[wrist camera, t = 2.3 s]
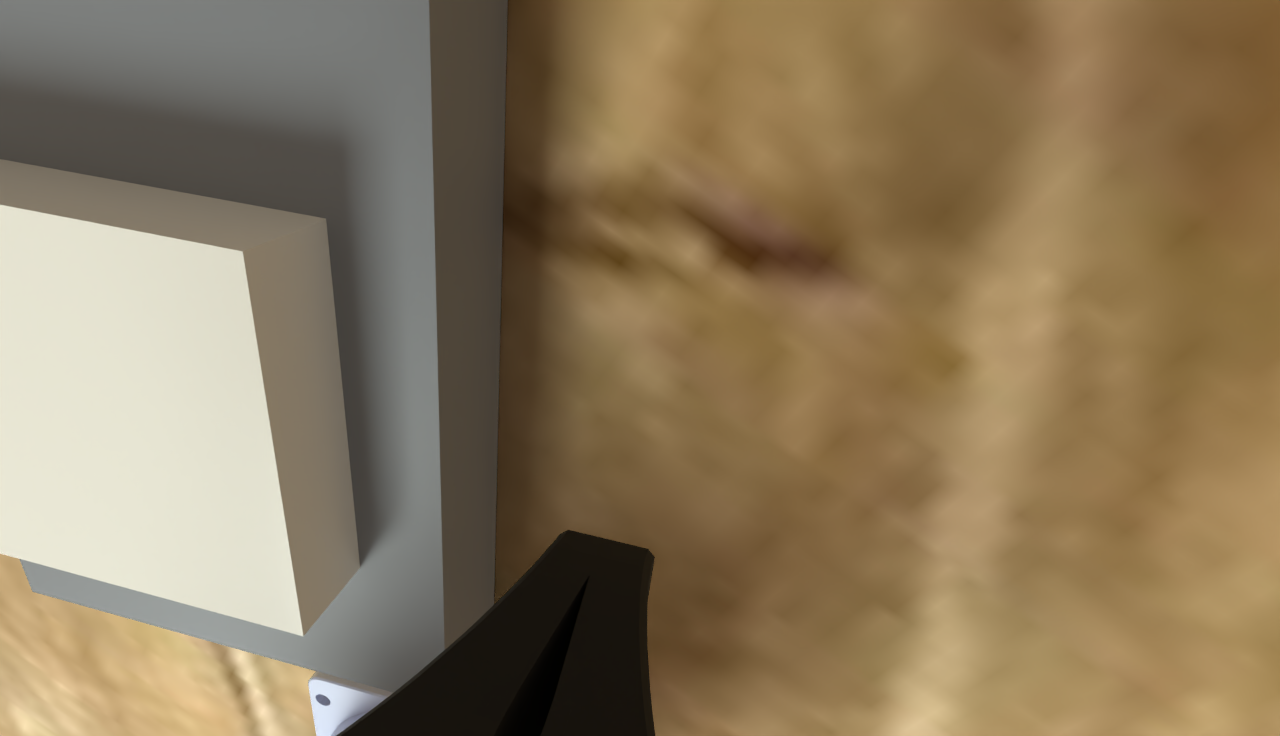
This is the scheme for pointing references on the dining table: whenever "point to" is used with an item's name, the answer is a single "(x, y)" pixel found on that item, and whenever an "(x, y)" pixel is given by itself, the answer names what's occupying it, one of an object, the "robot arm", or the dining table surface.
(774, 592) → the dining table surface
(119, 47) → the riser
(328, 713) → the robot arm
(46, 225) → the coaster
